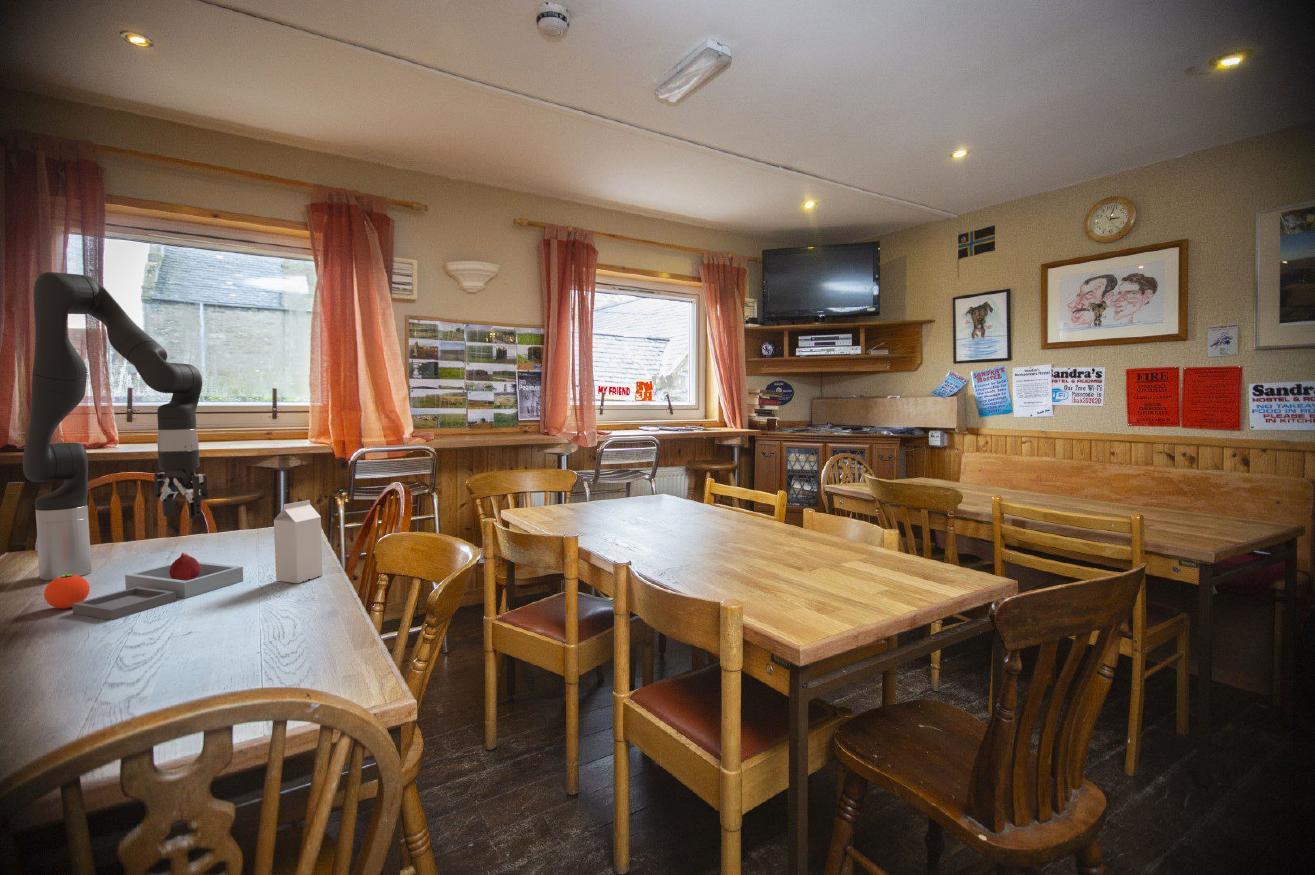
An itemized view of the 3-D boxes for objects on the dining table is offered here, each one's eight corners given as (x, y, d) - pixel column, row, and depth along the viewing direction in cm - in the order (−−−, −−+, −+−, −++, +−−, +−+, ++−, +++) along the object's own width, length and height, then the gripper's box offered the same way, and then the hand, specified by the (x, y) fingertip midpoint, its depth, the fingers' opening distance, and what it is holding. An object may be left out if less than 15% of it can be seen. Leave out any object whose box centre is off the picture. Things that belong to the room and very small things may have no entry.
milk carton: (323, 576, 150) (320, 500, 149) (297, 584, 144) (294, 505, 142) (301, 573, 153) (298, 499, 151) (275, 581, 146) (272, 503, 145)
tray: (72, 613, 124) (72, 603, 124) (138, 595, 135) (137, 586, 135) (111, 620, 120) (111, 610, 120) (175, 600, 132) (175, 591, 132)
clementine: (44, 606, 128) (42, 573, 128) (88, 598, 133) (86, 567, 133) (45, 615, 123) (43, 581, 122) (92, 607, 128) (90, 574, 127)
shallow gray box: (125, 589, 139) (124, 575, 139) (186, 573, 152) (185, 560, 152) (185, 598, 133) (184, 582, 133) (243, 581, 146) (242, 566, 146)
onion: (207, 582, 145) (205, 549, 145) (186, 589, 140) (184, 555, 139) (185, 581, 146) (183, 548, 145) (163, 588, 140) (161, 555, 140)
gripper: (139, 449, 139) (143, 518, 140) (183, 450, 135) (186, 522, 136) (174, 446, 146) (177, 512, 147) (216, 448, 142) (220, 516, 143)
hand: (182, 517), depth 142 cm, fingers open, 8 cm apart
